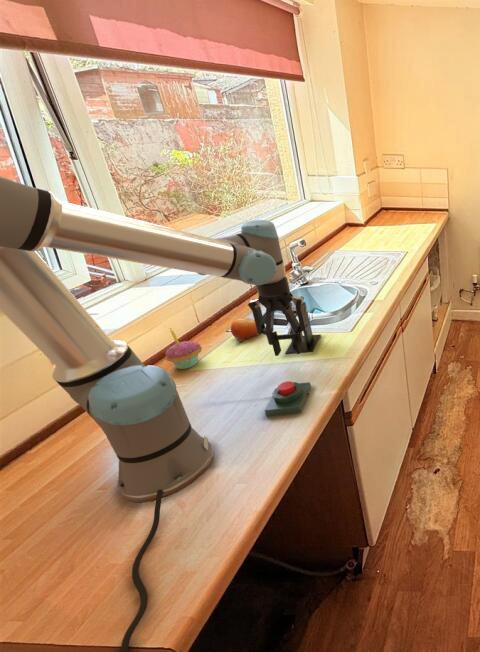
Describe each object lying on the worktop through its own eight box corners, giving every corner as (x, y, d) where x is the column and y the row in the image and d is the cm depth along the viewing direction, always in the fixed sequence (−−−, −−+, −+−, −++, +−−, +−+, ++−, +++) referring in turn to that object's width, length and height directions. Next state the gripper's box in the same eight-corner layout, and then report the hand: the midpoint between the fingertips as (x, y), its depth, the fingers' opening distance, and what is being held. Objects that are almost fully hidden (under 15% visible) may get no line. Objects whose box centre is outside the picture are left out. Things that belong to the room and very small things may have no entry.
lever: (295, 341, 115) (292, 334, 113) (276, 342, 114) (273, 336, 112) (306, 310, 126) (304, 304, 124) (289, 311, 125) (287, 305, 123)
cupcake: (163, 369, 117) (148, 333, 112) (192, 354, 124) (180, 320, 119) (183, 375, 114) (169, 339, 109) (212, 359, 121) (200, 325, 116)
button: (292, 394, 102) (291, 389, 101) (277, 396, 101) (275, 390, 100) (296, 385, 105) (295, 380, 104) (282, 387, 104) (280, 381, 104)
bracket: (313, 353, 125) (304, 312, 119) (285, 356, 124) (275, 313, 118) (321, 337, 134) (312, 297, 128) (295, 339, 133) (286, 299, 127)
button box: (301, 413, 101) (297, 401, 99) (266, 417, 99) (262, 404, 98) (311, 388, 110) (308, 376, 108) (280, 391, 108) (276, 379, 107)
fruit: (221, 338, 130) (228, 314, 130) (245, 339, 137) (252, 317, 137) (235, 344, 126) (243, 320, 127) (259, 345, 134) (267, 322, 134)
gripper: (310, 271, 112) (325, 343, 121) (239, 275, 108) (260, 348, 118) (303, 282, 105) (318, 356, 114) (227, 286, 102) (249, 362, 111)
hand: (289, 352), depth 116 cm, fingers closed on lever, 5 cm apart
